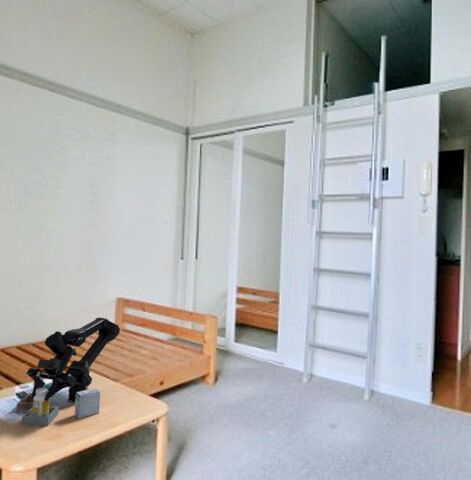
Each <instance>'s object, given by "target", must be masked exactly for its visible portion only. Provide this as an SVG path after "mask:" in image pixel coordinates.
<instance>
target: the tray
mask: <svg viewBox="0 0 471 480" xmlns="http://www.w3.org/2000/svg"><path fill="white" fill-rule="evenodd" d="M58 415H59V406H49V415H48V416H47V417H36V416H33V407H32V408H31V409H30V410H29V411H26V413H24V414H23V415H22V416H21V426H32V427H34V426H37V427H49V425H50V424H51V423H52V422H53V421H54V420H55V419H56V417H58Z"/></svg>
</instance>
